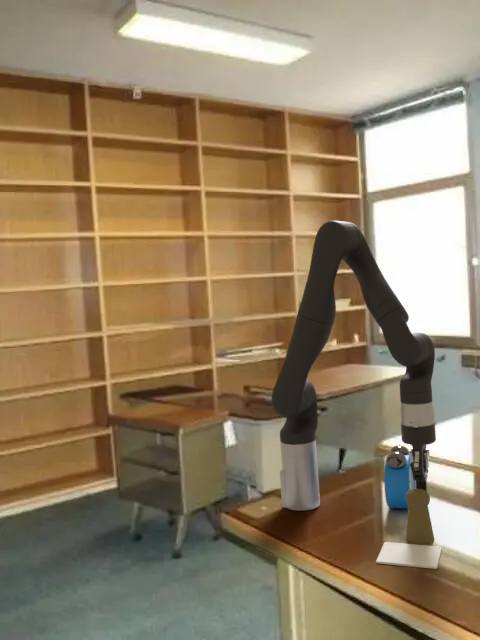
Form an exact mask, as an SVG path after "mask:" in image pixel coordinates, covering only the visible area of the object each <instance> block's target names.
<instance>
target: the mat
mask: <svg viewBox="0 0 480 640" xmlns="http://www.w3.org/2000/svg"><path fill="white" fill-rule="evenodd" d="M442 550H443V547H442V546H438V545H428V544H426V545H416V544H412V543H401V542H389V541H384V543H383V544H382V547H381V549H380V552H379V553H378V555H377V558H376V560H375V564H381V565H391V566H392V565H393V566H400V567H410V568H411V567H413V568H422V569H424V568H425V569H433V570H438V567H439V562H440V558H441V554H442Z"/></svg>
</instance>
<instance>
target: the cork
mask: <svg viewBox="0 0 480 640" xmlns="http://www.w3.org/2000/svg"><path fill="white" fill-rule="evenodd" d="M405 499H406V502H407V504H408V509H407V522H406V531H405V532H406V534H405V536H406V537H405V540H406V541H407V542H408V544H415V545H430V544H432V543H434V542H435V536H434V532H433V531H434V530H433V526H432V519H431V515H430V511H429V504H430V502H431V496H430V493H429V492H428V490H427V491H425V490H423V489H416V488H415V489H411V490H409V491H407V493H406V496H405Z"/></svg>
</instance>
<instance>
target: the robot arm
mask: <svg viewBox="0 0 480 640" xmlns="http://www.w3.org/2000/svg"><path fill="white" fill-rule="evenodd" d="M313 242H314V243H313V247H312V253H311V259H310V260H311V261H310V265H309V271H308V274H307V280H306V283H305V287H304V289H303V294H302V297H301V301H300V305H299V307H298V311H297V314H296V318H295V322H294V325H293V329H292V334H291V337H290V340H289V343H288V346H287V351H286V355H285V358H284V361H283V364H282V366H281V368H280V372H279V373H278V376H277V379H276V382H275V384H274V385H273V386H274V387H273V390H272V393H271V405H272V408H273V410H274V412H275V414H277V415H278V416H279V417H282V418H286V419H285V423H284V424H283V426H282V427H281V429H280V430H279V441H280V453H281V458H280V459H281V470H280V472H279V481H280V494H281V506H282V508H283V509H284V508H285V509H288V510H292V511H297V512H299V511H301V512H302V511H310V510H311V511H312V510H314V509H316V508H318V507H319V506H321V499H320V498H321V496H320V480H319V469H318V453H317V440H316V432H317V429H318V425H319V424H318V423H319V422H318V421H319V420H318V398H317V392H316V389H315V387H314V385H313V383H312V382H311V381H310V380H309V379H308V375H309V373H310V371H311V369H312V366H313V365H314V363H315V362H316V361H317V359H318V358H319V356H320V355H321V352H322V351H323V350H324V348H325V346H326V344H327V343H328V341H329V338H330V336H331V332H332V330H333V326H334V323H335V319H336V315H337V314H336V313H337V305H336V295H335V282H336V278H337V277H336V276H337V275H338V271H339V267H340V264H341V262H342V261H343V262H345V264H346V265H347V266H348V267H349V268H350V269H351V271H352V272H353V274H354V275H355V277H356V279H357V282H358V284H359V288H360V290H361V291H360V292H361V294H362V298H363V301H364V304H365V306H366V308H367V310H368V311H369V313H370V314H371V316H372V318H373V319H374V320H375V322H376V323H377V325H378V327H379V328H380V329H381V331H382V336H383V339H384V341H385V344H386V346H387V349H388V350H389V353H390V355H391V357H392V358H393V359H394V361H396V363H397V364H399V365H401V366H403V367H405V374H404V375H403V376H402V377H401V378H400V380H399V396H400V397H399V398H400V399H399V401H400V407H399V408H400V409H399V414H400V415H399V417H400V430H401V431H400V434H401V435H400V436H401V441H402V442H403V443H404V444H406V445H411V448H410V450H409V455H410V459H411V464H410V466H411V470H412V474H413V479H414V480H415V489H423V490H425V491H427V492H428V483H427V481H428V480H427V479H428V474H429V467H430V462H429V456H430V448H427V445H431V444H434V443H435V442H436V439H437V438H436V437H437V435H436V419H435V409H434V405H433V390H432V389H433V388H432V377H433V372H434V366H435V360H436V359H435V357H436V354H435V353H436V351H435V345H434V343H433V341H432V339H431V337H430V336H428V335H427V334H426V333H423V332H414V333H412V332H411V330H410V328H409V326H408V321H409V320H410V319H409V318H410V317H409V314H408V312H407V310H406V308H405V307H404V306H403V304H402V303H401V300H399V298H398V297H397V295H396V294H395V292H394V291H393V289H392V288H391V286H390V285H389V283H388V282H387V280H386V278H385V276H384V275H383V273H382V271H381V269H380V268H379V265H378V263H377V261H376V259H375V258H374V255H373V253H372V250H371V249H370V247H369V245H368V242H367V240H366V238H365V235H364V234H363V232H362V230H361V229H360V228H359V227H358V225H356V224H355V223H353V222H350V221H344V220H343V221H341V220H329V221H326V222H324V223H323V224H322V225H321V226H320V227H319V228H318V230H317V233H316V236H315V238H314V241H313Z"/></svg>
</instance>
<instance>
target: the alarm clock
mask: <svg viewBox="0 0 480 640" xmlns="http://www.w3.org/2000/svg"><path fill="white" fill-rule="evenodd" d="M410 464H411V459H410V450H409V449H408V448H407V447H406V446H404V445H401V444H398V445H394V446H392V447H391V448H390V450H389V453H388V454H387V455H386V457H385V462H384V475H383V476H384V477H383V478H384V483H383V484H384V497H385V502H386V506H387V507H388V508H389V509H405V510H408V504H407V502H406V499H405V496H406V493H407V491H409V490H411V489H416V481H415V480H414V479H413V474H412V470H411V466H410Z"/></svg>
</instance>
